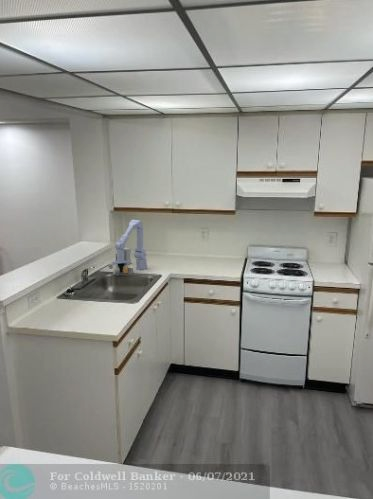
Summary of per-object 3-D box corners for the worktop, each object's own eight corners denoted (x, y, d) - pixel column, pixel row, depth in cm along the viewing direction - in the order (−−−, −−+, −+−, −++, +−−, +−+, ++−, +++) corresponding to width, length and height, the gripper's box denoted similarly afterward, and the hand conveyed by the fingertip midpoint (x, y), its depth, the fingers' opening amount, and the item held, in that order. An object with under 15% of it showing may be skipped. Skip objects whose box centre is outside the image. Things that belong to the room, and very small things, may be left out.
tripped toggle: (127, 272, 299) (127, 266, 298) (127, 273, 296) (127, 267, 295) (123, 272, 299) (123, 267, 298) (123, 273, 296) (123, 268, 295)
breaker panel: (133, 269, 314) (132, 264, 313) (132, 275, 296) (132, 270, 295) (114, 269, 312) (114, 264, 311) (112, 275, 294) (112, 270, 293)
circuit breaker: (114, 266, 322) (114, 250, 318) (124, 262, 334) (124, 247, 331) (121, 267, 318) (120, 251, 315) (131, 263, 331) (130, 248, 327)
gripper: (127, 254, 300) (128, 269, 303) (110, 256, 294) (111, 271, 297) (130, 256, 294) (130, 272, 297) (112, 258, 288) (113, 274, 291)
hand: (121, 272), depth 297 cm, fingers closed
